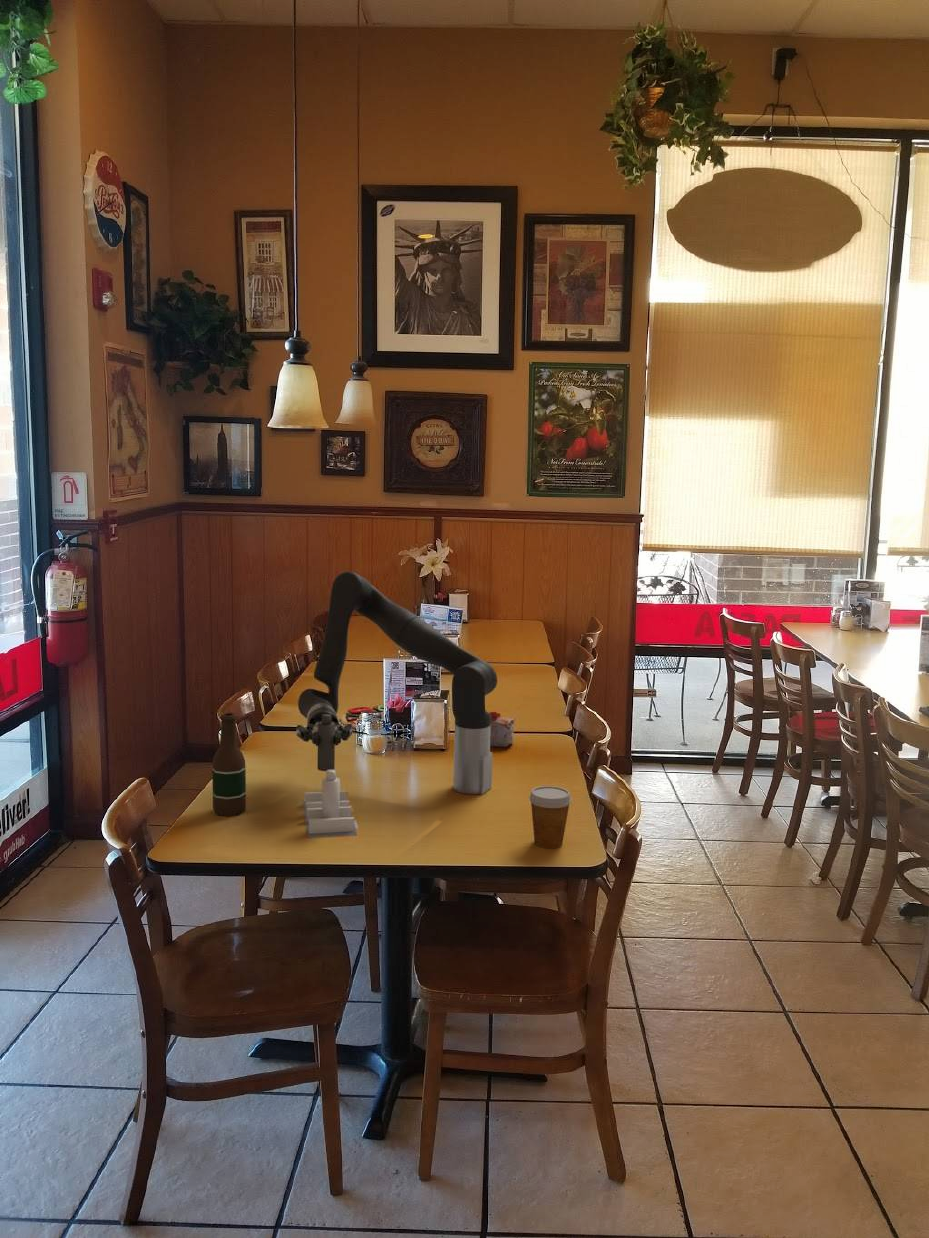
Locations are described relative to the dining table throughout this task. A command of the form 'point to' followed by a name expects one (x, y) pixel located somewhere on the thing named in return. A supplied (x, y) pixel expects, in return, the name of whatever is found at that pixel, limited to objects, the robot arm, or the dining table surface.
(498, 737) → the food item
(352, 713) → the toy pizza
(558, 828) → the disposable coffee cup
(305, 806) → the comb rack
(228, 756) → the beer bottle
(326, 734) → the dark grey bottle
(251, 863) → the dining table surface
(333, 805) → the white bottle
